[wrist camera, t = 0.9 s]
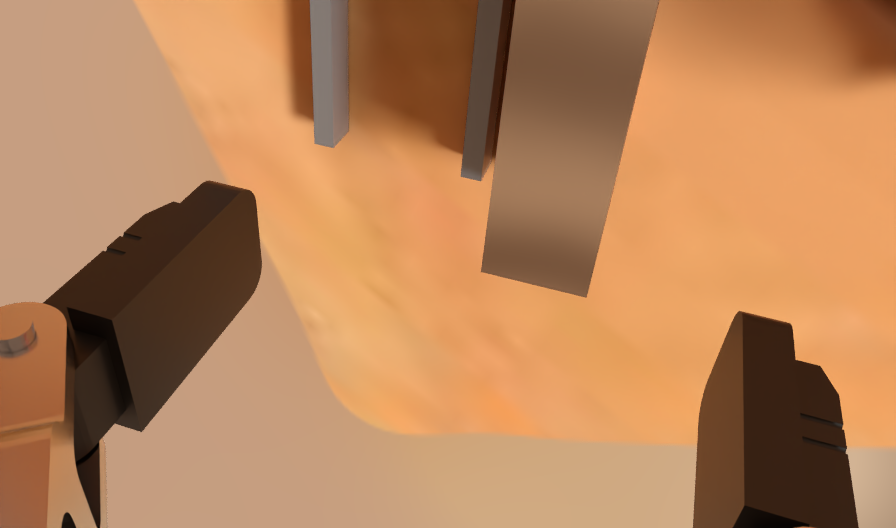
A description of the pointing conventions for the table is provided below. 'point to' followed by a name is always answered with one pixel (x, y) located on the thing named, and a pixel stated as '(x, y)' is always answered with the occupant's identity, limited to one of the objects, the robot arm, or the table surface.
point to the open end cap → (484, 82)
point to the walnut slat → (563, 136)
